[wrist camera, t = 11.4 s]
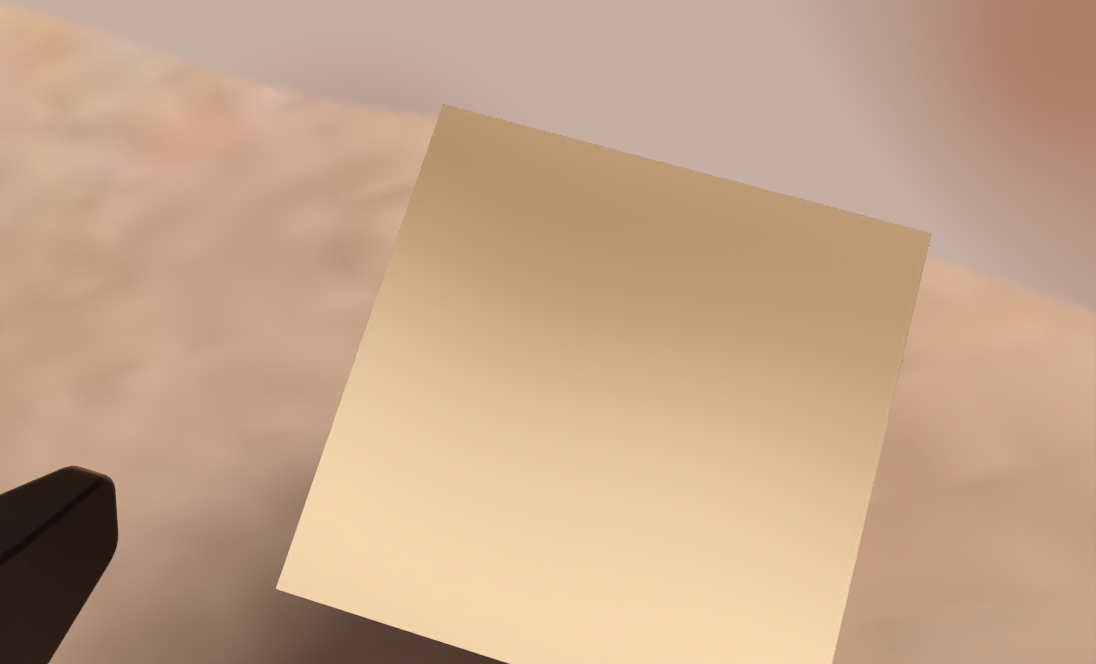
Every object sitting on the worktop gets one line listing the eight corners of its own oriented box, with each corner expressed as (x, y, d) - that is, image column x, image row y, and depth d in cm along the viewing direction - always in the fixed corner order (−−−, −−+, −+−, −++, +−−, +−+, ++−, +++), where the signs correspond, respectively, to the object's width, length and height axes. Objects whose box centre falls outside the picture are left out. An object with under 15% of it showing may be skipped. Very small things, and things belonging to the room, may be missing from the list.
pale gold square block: (681, 645, 17) (812, 763, 7) (451, 573, 17) (271, 590, 7) (742, 413, 18) (934, 231, 8) (520, 349, 18) (441, 101, 8)
